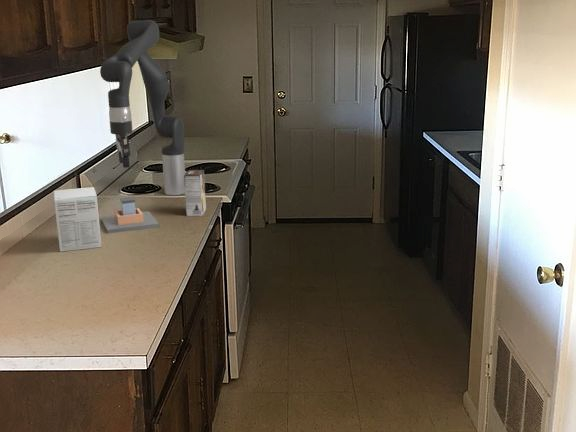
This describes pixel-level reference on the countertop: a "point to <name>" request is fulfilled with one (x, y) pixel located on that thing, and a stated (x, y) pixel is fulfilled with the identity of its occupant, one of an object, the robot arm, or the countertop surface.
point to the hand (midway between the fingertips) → (124, 165)
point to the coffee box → (195, 192)
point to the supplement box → (77, 219)
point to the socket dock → (128, 221)
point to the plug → (128, 206)
